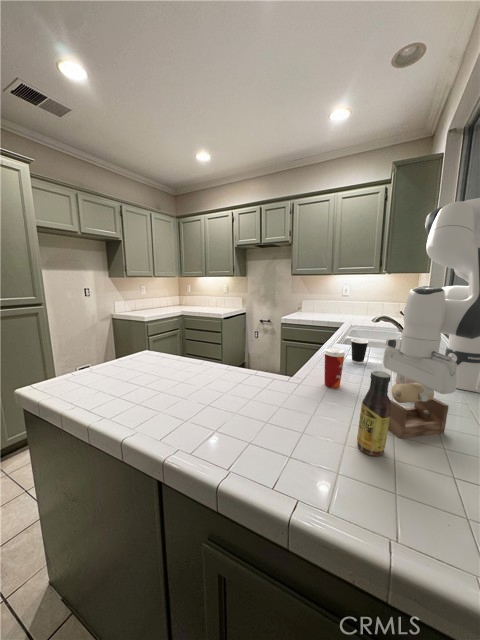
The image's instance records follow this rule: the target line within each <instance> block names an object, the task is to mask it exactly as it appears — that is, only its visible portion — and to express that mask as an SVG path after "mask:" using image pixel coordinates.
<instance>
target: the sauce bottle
mask: <svg viewBox="0 0 480 640" xmlns="http://www.w3.org/2000/svg"><path fill="white" fill-rule="evenodd" d="M390 382H391V374H390V373H388V372H386V371H382V370H372V371H371V373H370V384H369V385H370V386H369V388H368V391H367V392H366V394H365V396H364V398H363V399H362V402H361V407H360V413H359V420H358V421H359V422H358V429H357V435H356V437H357V438H356V445H357V448H358V449H359V450H360V451H361V452H363V453H364V454H366V455H367V456H374V457H379V456H382V455H383V454H384V453H385V448H386V444H387V438H388V431H389V430H388V426H389V420H390V410H391V401H390V400H391V399H390V397H389V395H388V392H389V383H390Z"/></svg>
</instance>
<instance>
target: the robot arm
mask: <svg viewBox="0 0 480 640" xmlns="http://www.w3.org/2000/svg"><path fill="white" fill-rule="evenodd" d="M424 225H425V231H426V234H427V236H428V237H427V242H426V254H427V255H428V258H430V259H431V261H433V262H434V263H436V264H437V265H440V266H442V267H446V268H449V269H452V270H453V272H454V274H455V275H456V276H457V277H459V278H461V279H463V280H465V281H466V282H467V283H468V285H450V286H449V285H448V286H443V287H438V286H430V285H423V286H416V287H414V288H411V289H410V291H409V292H408V293H409V294H408V296H407V298H406V299H407V300H406V304H405V307H404V311H403V312H404V313H403V325H404V326H403V329H402V331H401V335H400V337H396V338H395V337H394V338H387V339H386V340H385V346H386V347H385V350H384V354H383V359H382V360H383V362H382V363H383V364H382V365H383V367H384V368H385V369H387V370H388V371H391V372H393V373H395V374H396V376H397V379H398V382H399V384H406V381H405V378H408V379H410V380H412V381H414V382H417V383H419V384H421V385H423V387H422V389H424V391H423V392H422V393H418V399H419V400H421V401H423V402H424V401H427V400H428V395H429V394H431V393H432V392H433V391H434V392H437V393H438V394H441V395H449V394H450V395H451V394H453V393H454V392H456V389H458V390H465V391H470V392H475V393H478V394H480V197H478V198H470V199H466V200H464V201H462V200H460V201H453V202H450V203H447V204H446V205H444V206H441V207H438V208H435V209H434V210H431V212H430V213H429V214H428V215H427V216H426V218H425V223H424ZM441 334H443V335H448V343H447V346H446V347H445V351H444V352H445V354H443V353H440V348H441V340H442V335H441Z"/></svg>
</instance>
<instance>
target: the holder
mask: <svg viewBox="0 0 480 640" xmlns="http://www.w3.org/2000/svg"><path fill="white" fill-rule="evenodd" d="M390 401H391V410H390V420H389V426H388V431H389V432H390V433H391V434H393V435H395V436H396V437H397V438H398V439H400V440H401V439H408V438H414V437H421V436H429V435H435V434H444V433H445V431H446V425H447V417H448V412H449V404H446V403H444V402H442V401H440V400H438V399H436V398H434V397H433V399H431V400H429V401H424V402H423V401H418V402H414V407H405V408H404V407H403V406H401V405H400V404H398V402H396V401H394V400H391V399H390Z"/></svg>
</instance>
